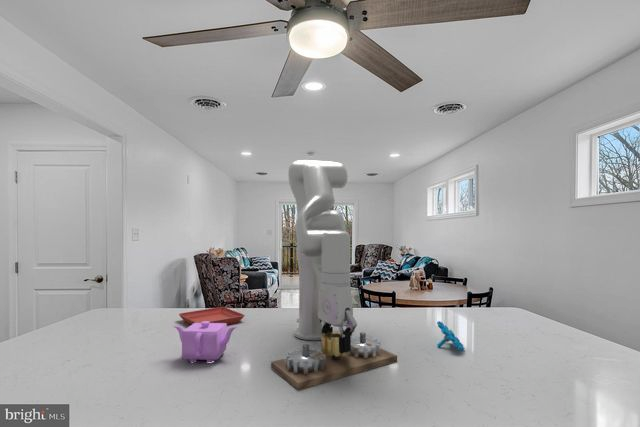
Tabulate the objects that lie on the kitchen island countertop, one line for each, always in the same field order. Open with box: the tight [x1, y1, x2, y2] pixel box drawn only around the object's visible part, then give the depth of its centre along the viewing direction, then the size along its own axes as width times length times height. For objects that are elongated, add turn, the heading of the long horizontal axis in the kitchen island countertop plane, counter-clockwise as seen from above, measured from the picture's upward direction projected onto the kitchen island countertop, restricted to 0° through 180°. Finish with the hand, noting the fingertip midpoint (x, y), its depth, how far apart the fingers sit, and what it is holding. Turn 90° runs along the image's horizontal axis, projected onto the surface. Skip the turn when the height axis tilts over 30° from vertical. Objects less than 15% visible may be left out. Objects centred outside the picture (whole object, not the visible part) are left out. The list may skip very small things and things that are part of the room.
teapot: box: [172, 321, 239, 363], centre depth 96 cm, size 18×13×10 cm
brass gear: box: [320, 330, 350, 356], centre depth 91 cm, size 7×7×4 cm
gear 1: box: [285, 343, 325, 374], centre depth 86 cm, size 10×10×5 cm
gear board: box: [270, 348, 398, 391], centre depth 91 cm, size 30×14×6 cm, turn 123°
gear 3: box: [436, 320, 465, 352], centre depth 103 cm, size 11×6×10 cm
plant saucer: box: [178, 306, 246, 326], centre depth 130 cm, size 18×18×3 cm
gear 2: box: [348, 332, 382, 358], centre depth 96 cm, size 10×10×5 cm
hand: (335, 346), depth 91 cm, fingers closed on brass gear, 7 cm apart
